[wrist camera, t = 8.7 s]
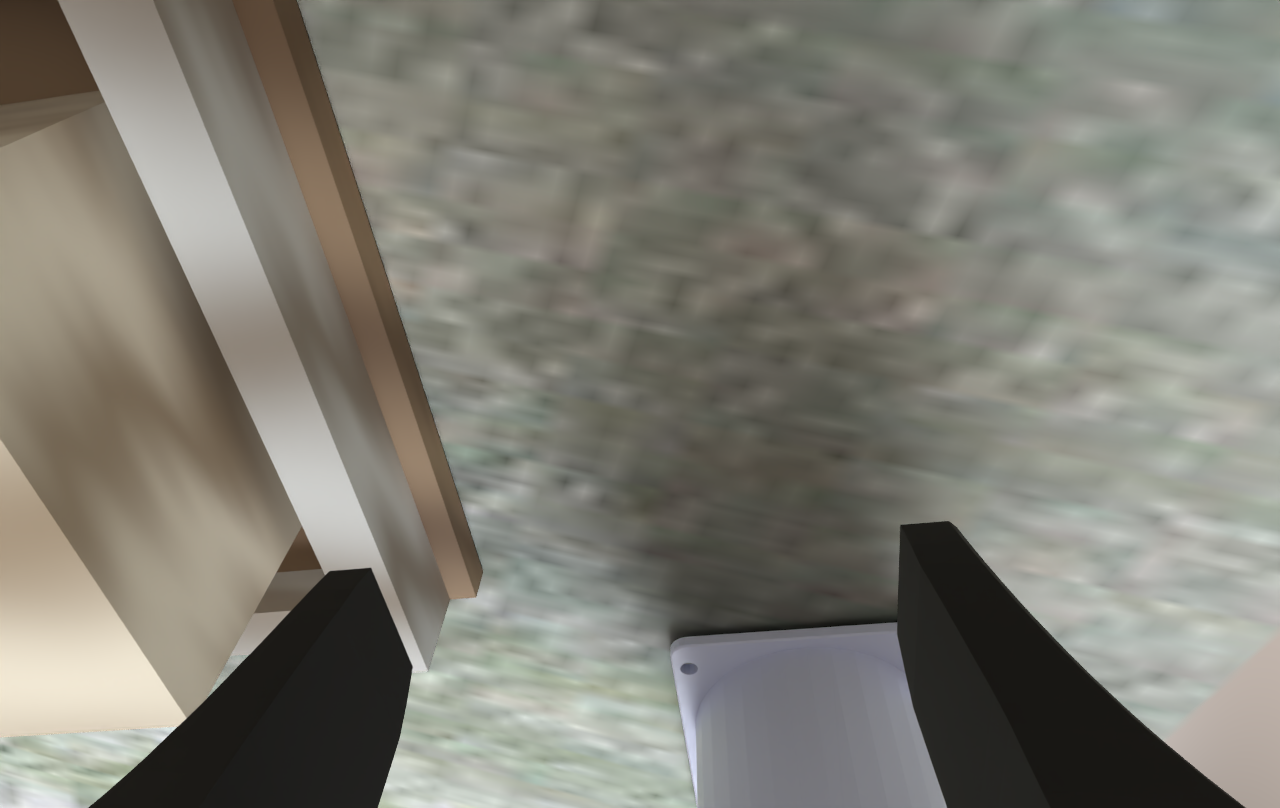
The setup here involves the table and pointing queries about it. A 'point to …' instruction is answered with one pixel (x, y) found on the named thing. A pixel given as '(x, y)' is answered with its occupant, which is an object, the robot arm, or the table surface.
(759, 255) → the table surface
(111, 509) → the door panel
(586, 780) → the table surface
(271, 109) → the track board
